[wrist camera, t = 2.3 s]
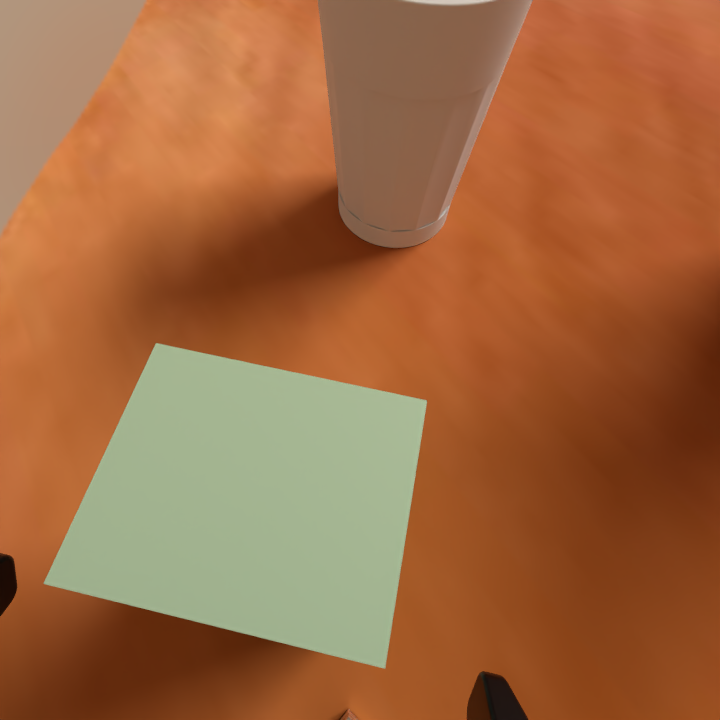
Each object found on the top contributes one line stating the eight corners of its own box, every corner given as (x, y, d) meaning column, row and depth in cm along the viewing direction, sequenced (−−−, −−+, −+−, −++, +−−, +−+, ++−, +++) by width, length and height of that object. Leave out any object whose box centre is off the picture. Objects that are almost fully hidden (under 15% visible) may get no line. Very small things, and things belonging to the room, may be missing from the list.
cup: (480, 248, 25) (588, -7, 14) (338, 270, 24) (335, 14, 13) (439, 148, 28) (500, -120, 17) (313, 164, 27) (293, -111, 16)
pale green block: (357, 606, 17) (384, 668, 6) (231, 576, 17) (42, 583, 6) (379, 490, 19) (430, 380, 8) (265, 464, 19) (164, 324, 8)
